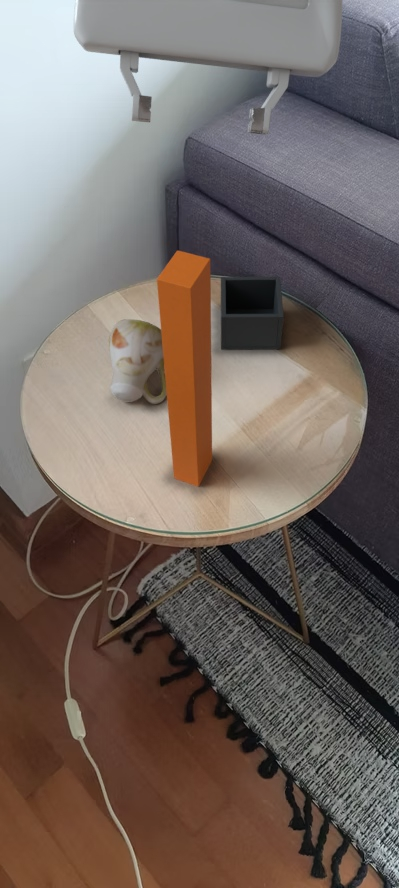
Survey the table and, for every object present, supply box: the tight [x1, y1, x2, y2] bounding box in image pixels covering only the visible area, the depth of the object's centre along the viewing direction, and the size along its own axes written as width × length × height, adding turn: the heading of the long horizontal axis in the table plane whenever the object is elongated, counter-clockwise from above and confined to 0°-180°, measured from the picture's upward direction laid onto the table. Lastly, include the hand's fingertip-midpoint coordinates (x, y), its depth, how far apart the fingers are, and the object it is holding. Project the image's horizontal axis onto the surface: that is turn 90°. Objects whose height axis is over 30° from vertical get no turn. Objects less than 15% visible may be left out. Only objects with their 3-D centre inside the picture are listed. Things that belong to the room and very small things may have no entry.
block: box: [156, 250, 213, 487], centre depth 67 cm, size 3×4×28 cm
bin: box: [220, 276, 285, 351], centre depth 89 cm, size 8×8×6 cm
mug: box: [108, 318, 167, 405], centre depth 85 cm, size 8×10×10 cm
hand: (199, 127), depth 55 cm, fingers open, 8 cm apart
